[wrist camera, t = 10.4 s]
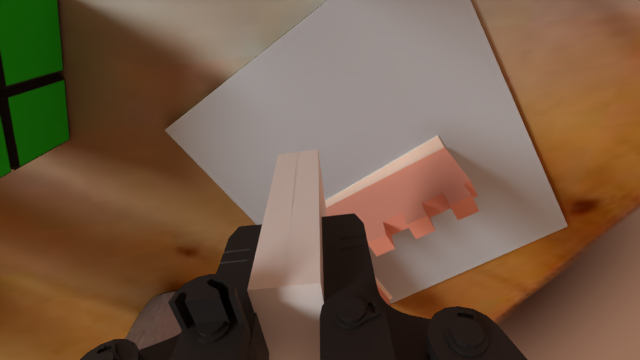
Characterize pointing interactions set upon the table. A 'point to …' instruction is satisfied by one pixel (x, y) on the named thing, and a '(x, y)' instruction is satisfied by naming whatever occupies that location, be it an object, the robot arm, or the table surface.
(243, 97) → the board
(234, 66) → the table surface
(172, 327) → the pillar candle
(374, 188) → the pink crenellated wall
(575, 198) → the table surface
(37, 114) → the puzzle cube
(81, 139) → the table surface
